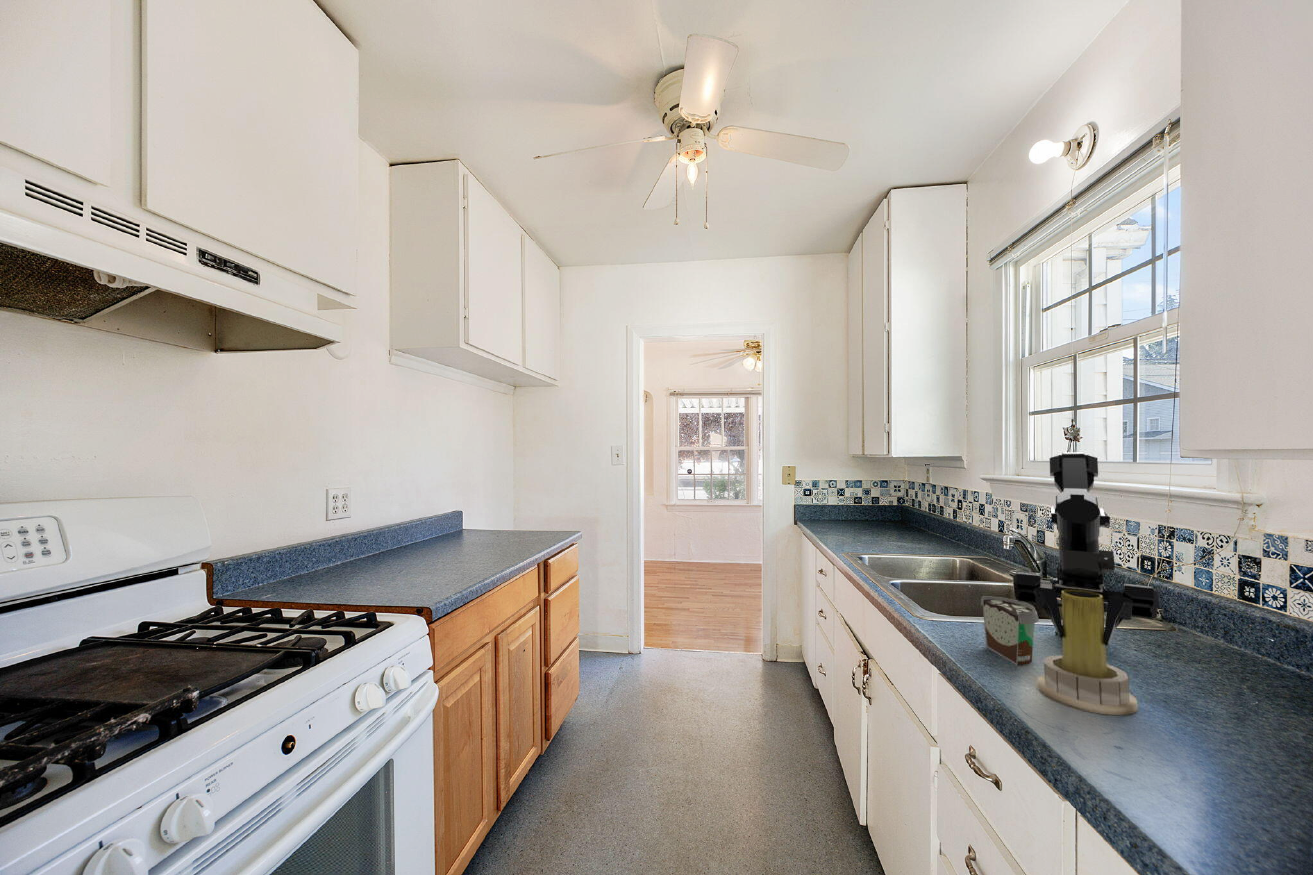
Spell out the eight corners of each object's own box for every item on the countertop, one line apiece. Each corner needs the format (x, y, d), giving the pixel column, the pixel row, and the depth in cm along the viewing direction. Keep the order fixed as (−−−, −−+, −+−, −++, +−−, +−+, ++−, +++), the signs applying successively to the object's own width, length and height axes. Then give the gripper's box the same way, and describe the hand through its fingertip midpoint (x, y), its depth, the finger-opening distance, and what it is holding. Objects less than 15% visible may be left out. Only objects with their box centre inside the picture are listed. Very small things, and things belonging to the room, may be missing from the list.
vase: (1114, 682, 84) (1110, 593, 84) (1105, 694, 80) (1101, 601, 80) (1066, 671, 88) (1063, 586, 89) (1056, 681, 85) (1053, 593, 85)
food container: (1056, 668, 95) (1055, 613, 95) (1022, 668, 95) (1020, 613, 95) (1012, 644, 107) (1010, 595, 108) (981, 644, 107) (980, 595, 108)
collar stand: (1062, 674, 92) (1061, 648, 92) (1153, 704, 81) (1152, 674, 81) (1021, 688, 87) (1020, 661, 87) (1112, 722, 76) (1111, 691, 76)
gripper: (1012, 526, 94) (1009, 603, 85) (1154, 536, 82) (1168, 625, 73) (1016, 563, 100) (1014, 637, 91) (1150, 576, 88) (1162, 663, 79)
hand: (1083, 640), depth 83 cm, fingers closed on vase, 5 cm apart
